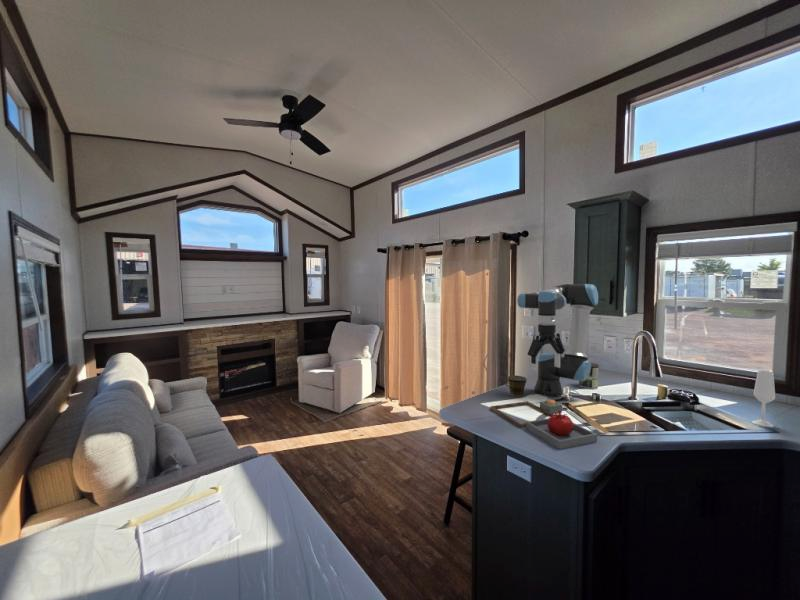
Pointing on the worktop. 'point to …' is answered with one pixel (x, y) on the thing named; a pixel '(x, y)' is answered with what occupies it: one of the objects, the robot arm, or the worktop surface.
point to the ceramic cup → (516, 385)
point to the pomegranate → (560, 424)
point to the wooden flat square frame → (523, 425)
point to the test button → (550, 402)
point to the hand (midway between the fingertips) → (546, 368)
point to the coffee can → (591, 378)
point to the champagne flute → (764, 393)
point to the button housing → (551, 407)
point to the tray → (561, 442)
